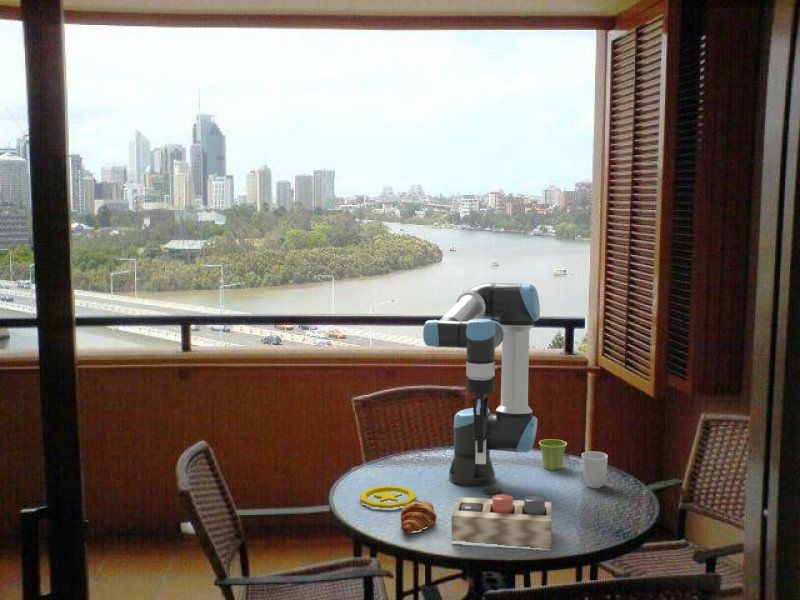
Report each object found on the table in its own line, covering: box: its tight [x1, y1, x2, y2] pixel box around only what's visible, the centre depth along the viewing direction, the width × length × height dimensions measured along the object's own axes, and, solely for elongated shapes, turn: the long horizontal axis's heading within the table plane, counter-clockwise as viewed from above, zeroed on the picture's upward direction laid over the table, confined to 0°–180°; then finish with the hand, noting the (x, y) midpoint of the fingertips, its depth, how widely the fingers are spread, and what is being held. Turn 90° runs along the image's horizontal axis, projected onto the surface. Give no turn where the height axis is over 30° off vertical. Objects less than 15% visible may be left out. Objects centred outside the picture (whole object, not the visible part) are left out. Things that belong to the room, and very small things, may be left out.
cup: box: [581, 451, 609, 489], centre depth 262 cm, size 8×8×10 cm
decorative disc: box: [360, 485, 417, 508], centre depth 252 cm, size 17×18×2 cm
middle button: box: [491, 494, 514, 514], centre depth 222 cm, size 6×6×5 cm
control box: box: [451, 496, 553, 551], centre depth 222 cm, size 26×14×8 cm, turn 79°
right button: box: [523, 495, 546, 516], centre depth 220 cm, size 6×6×5 cm
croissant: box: [400, 500, 437, 534], centre depth 233 cm, size 21×10×8 cm, turn 161°
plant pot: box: [538, 438, 568, 471], centre depth 281 cm, size 9×9×9 cm
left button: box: [461, 503, 481, 512], centre depth 224 cm, size 6×6×5 cm
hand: (480, 463), depth 221 cm, fingers closed
